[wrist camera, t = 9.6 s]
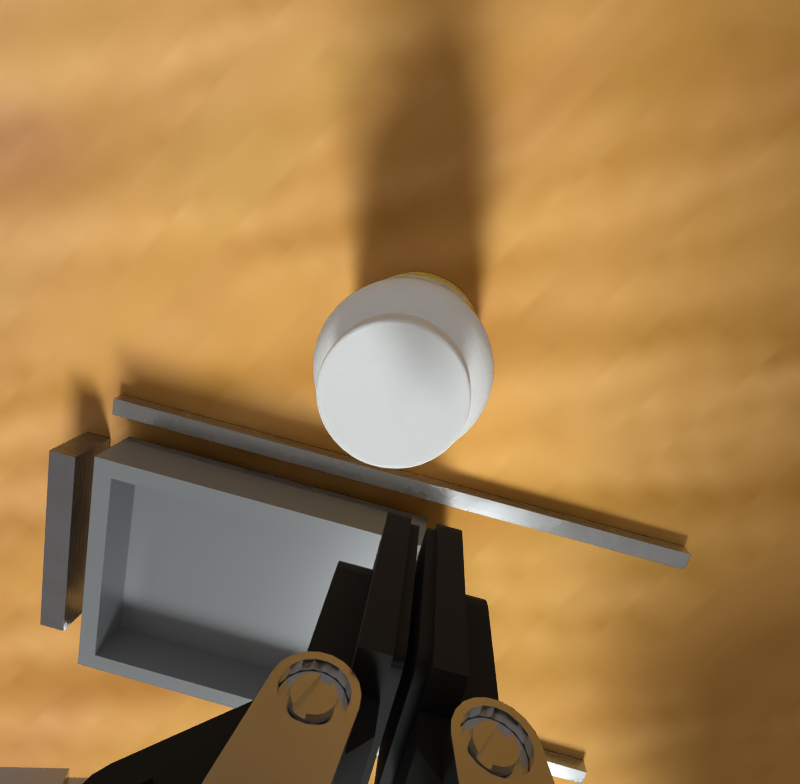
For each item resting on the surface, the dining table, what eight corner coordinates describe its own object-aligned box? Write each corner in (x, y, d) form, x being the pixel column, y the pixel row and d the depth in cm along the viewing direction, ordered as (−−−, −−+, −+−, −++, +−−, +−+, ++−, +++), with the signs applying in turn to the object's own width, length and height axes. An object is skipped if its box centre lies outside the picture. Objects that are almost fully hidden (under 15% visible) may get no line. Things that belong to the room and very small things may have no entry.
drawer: (454, 518, 30) (455, 579, 24) (397, 698, 34) (387, 786, 28) (137, 432, 30) (66, 472, 25) (117, 619, 34) (52, 691, 29)
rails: (684, 546, 29) (710, 579, 26) (578, 771, 34) (590, 819, 31) (90, 386, 30) (51, 400, 27) (72, 628, 35) (38, 662, 32)
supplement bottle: (449, 410, 28) (450, 532, 16) (340, 366, 28) (254, 454, 16) (499, 298, 26) (544, 338, 14) (382, 250, 26) (323, 247, 14)
